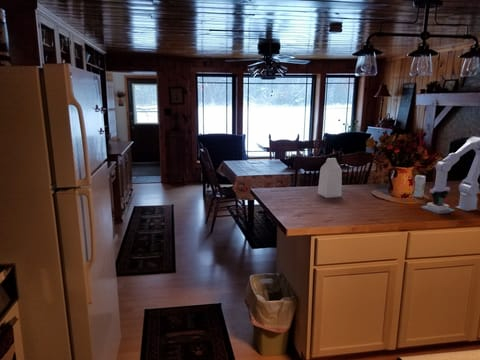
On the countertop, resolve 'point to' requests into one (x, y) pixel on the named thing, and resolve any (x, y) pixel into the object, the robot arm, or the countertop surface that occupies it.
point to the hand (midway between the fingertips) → (438, 203)
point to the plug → (440, 202)
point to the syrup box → (419, 186)
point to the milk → (330, 179)
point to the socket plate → (437, 208)
